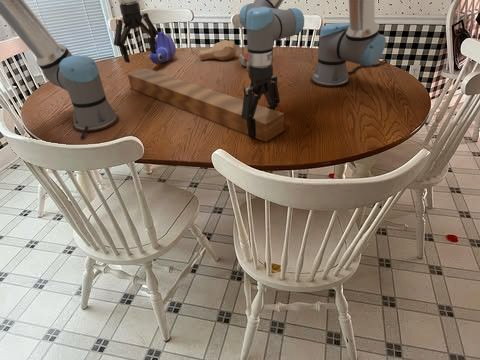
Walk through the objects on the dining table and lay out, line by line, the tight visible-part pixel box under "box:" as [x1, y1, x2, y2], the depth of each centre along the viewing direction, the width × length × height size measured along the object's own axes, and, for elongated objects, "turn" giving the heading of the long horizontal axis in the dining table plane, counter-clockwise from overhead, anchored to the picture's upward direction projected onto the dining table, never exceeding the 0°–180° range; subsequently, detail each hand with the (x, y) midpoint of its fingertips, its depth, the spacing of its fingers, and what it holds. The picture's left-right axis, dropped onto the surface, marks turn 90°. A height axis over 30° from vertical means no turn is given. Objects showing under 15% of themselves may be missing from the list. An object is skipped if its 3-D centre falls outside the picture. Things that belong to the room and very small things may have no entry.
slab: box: [127, 67, 285, 143], centre depth 138 cm, size 78×9×7 cm, turn 47°
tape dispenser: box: [239, 53, 249, 70], centre depth 171 cm, size 18×5×20 cm
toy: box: [148, 31, 177, 69], centre depth 182 cm, size 10×17×25 cm
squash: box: [198, 39, 238, 61], centre depth 185 cm, size 11×20×9 cm, turn 92°
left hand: (141, 57), depth 151 cm, fingers open, 13 cm apart
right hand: (261, 130), depth 121 cm, fingers closed on slab, 9 cm apart
